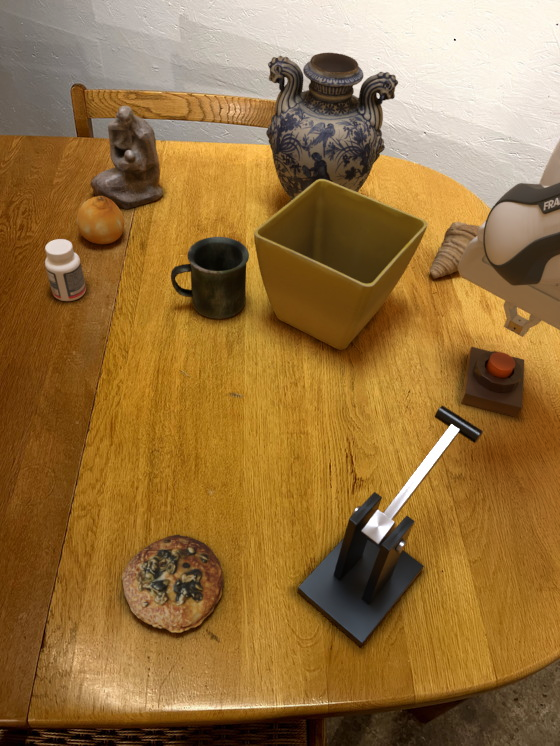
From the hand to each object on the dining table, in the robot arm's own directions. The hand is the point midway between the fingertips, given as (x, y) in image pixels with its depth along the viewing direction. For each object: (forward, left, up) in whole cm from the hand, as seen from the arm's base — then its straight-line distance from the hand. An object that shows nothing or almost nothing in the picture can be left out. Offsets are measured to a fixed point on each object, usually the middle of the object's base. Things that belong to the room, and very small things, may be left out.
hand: (515, 329), depth 88 cm
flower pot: (+27, +5, -12) cm, 30 cm away
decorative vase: (+47, -16, -12) cm, 51 cm away
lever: (-4, +31, +2) cm, 32 cm away
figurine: (+75, +6, -12) cm, 76 cm away
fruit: (+68, +18, -12) cm, 71 cm away
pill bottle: (+60, +31, -12) cm, 68 cm away
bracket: (-4, +38, -11) cm, 40 cm away
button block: (0, 0, -11) cm, 11 cm away
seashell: (+19, -22, -12) cm, 31 cm away
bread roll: (+11, +53, -12) cm, 55 cm away
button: (0, 0, -8) cm, 8 cm away
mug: (+42, +17, -12) cm, 47 cm away
